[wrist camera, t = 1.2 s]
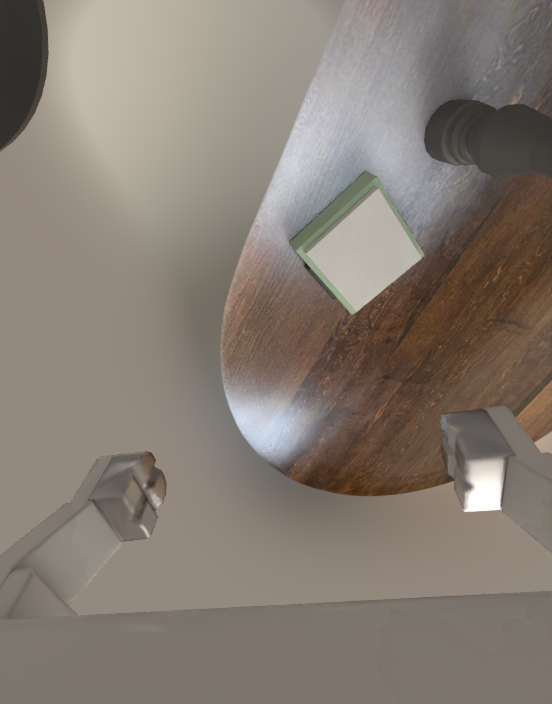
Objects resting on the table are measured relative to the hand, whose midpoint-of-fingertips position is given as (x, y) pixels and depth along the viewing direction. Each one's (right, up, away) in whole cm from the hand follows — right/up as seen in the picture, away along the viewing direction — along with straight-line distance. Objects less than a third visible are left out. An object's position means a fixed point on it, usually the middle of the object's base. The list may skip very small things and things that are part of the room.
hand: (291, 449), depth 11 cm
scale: (+10, +17, +39) cm, 43 cm away
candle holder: (+20, +29, +34) cm, 48 cm away
